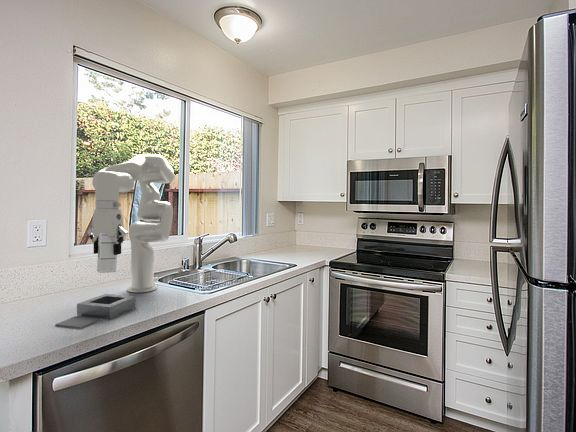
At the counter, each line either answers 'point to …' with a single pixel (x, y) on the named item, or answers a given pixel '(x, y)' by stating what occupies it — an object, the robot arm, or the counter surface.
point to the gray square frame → (106, 306)
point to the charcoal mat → (77, 322)
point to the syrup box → (106, 254)
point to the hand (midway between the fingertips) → (107, 253)
